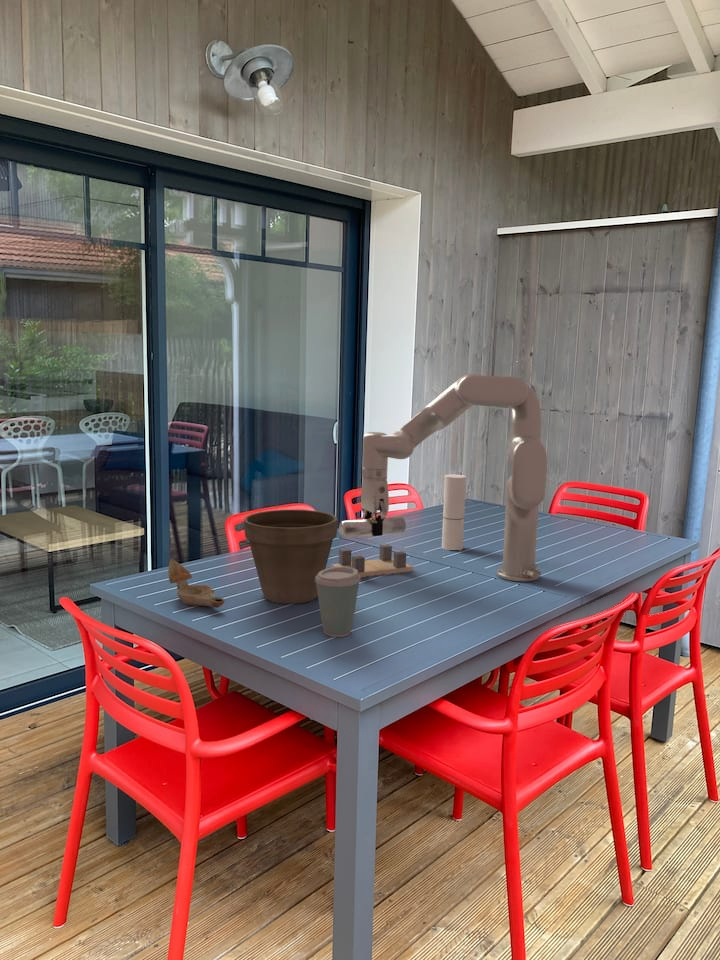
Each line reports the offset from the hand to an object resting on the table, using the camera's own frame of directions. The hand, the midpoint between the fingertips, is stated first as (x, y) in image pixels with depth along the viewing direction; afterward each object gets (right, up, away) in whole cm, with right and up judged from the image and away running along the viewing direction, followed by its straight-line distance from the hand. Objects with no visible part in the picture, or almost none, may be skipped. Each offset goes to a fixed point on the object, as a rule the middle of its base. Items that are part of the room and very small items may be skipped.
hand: (372, 532), depth 232 cm
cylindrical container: (+28, -8, +31) cm, 42 cm away
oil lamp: (-46, -16, -32) cm, 59 cm away
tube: (0, -1, 0) cm, 1 cm away
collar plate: (0, -11, +2) cm, 12 cm away
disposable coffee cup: (-9, -20, -51) cm, 56 cm away
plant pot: (-23, -15, -25) cm, 37 cm away
